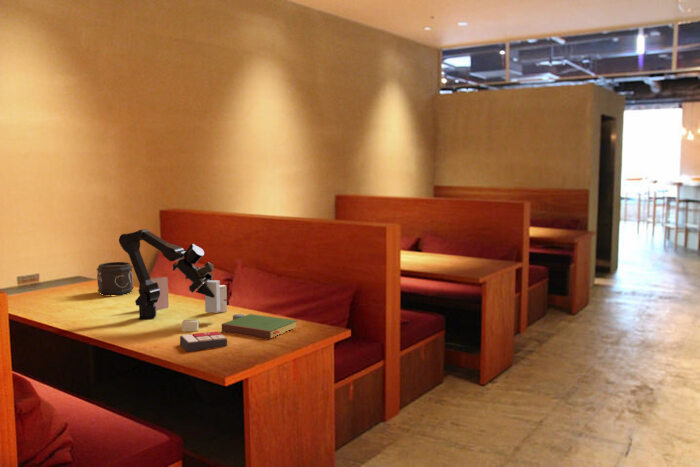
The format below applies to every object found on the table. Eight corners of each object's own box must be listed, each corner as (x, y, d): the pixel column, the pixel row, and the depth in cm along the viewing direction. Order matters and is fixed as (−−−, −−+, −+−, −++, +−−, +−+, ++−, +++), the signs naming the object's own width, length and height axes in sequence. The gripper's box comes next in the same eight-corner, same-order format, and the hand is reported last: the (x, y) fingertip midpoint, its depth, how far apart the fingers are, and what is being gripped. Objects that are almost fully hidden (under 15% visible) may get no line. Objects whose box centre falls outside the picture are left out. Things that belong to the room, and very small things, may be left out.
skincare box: (214, 313, 279) (214, 287, 278) (211, 311, 283) (210, 285, 281) (227, 311, 282) (226, 285, 281) (223, 309, 286) (223, 284, 285)
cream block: (182, 331, 249) (182, 322, 248) (184, 329, 253) (183, 319, 252) (197, 331, 249) (196, 321, 249) (198, 328, 253) (198, 319, 253)
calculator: (227, 337, 228) (187, 341, 221) (227, 348, 228) (187, 352, 221) (218, 330, 237) (179, 333, 230) (218, 341, 238) (179, 345, 230)
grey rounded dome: (232, 324, 260) (232, 317, 260) (233, 321, 265) (233, 314, 265) (244, 323, 261) (244, 316, 261) (244, 320, 266) (244, 313, 266)
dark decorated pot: (140, 290, 333) (139, 261, 331) (121, 297, 315) (120, 267, 314) (111, 289, 337) (110, 260, 335) (91, 295, 319) (89, 266, 318)
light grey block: (205, 312, 261) (204, 282, 260) (208, 309, 266) (208, 280, 265) (216, 312, 260) (216, 282, 259) (220, 309, 265) (219, 280, 264)
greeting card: (168, 307, 292) (167, 276, 290) (168, 310, 285) (167, 279, 283) (143, 309, 289) (142, 277, 287) (143, 312, 282) (141, 280, 280)
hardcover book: (221, 332, 248) (221, 323, 248) (250, 322, 264) (250, 314, 264) (271, 341, 236) (271, 331, 236) (298, 329, 252) (298, 320, 252)
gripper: (195, 260, 252) (222, 287, 252) (208, 254, 270) (233, 278, 271) (177, 279, 253) (204, 305, 253) (191, 271, 271) (216, 296, 272)
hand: (215, 295), depth 262 cm, fingers closed on light grey block, 5 cm apart
